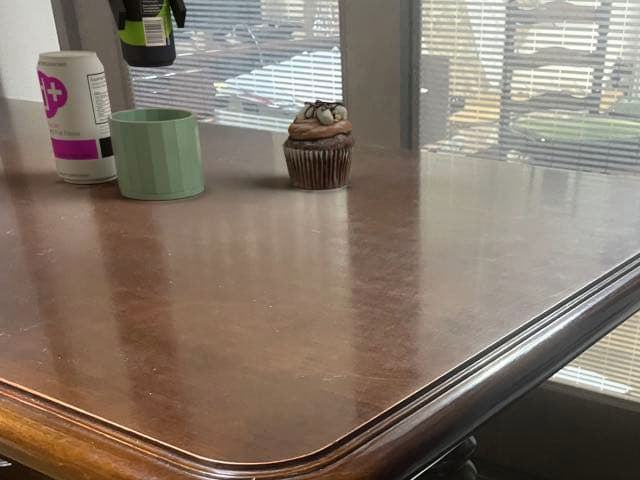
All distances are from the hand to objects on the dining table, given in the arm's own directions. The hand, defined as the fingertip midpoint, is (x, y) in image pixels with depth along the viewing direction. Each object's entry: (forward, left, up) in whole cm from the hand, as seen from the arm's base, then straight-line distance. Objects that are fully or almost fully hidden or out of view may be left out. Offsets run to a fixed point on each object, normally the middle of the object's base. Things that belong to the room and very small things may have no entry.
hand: (152, 19), depth 100 cm
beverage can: (-3, +2, -5) cm, 6 cm away
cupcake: (+13, +15, -20) cm, 28 cm away
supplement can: (-17, +5, -20) cm, 27 cm away
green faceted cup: (-4, +3, -20) cm, 20 cm away
